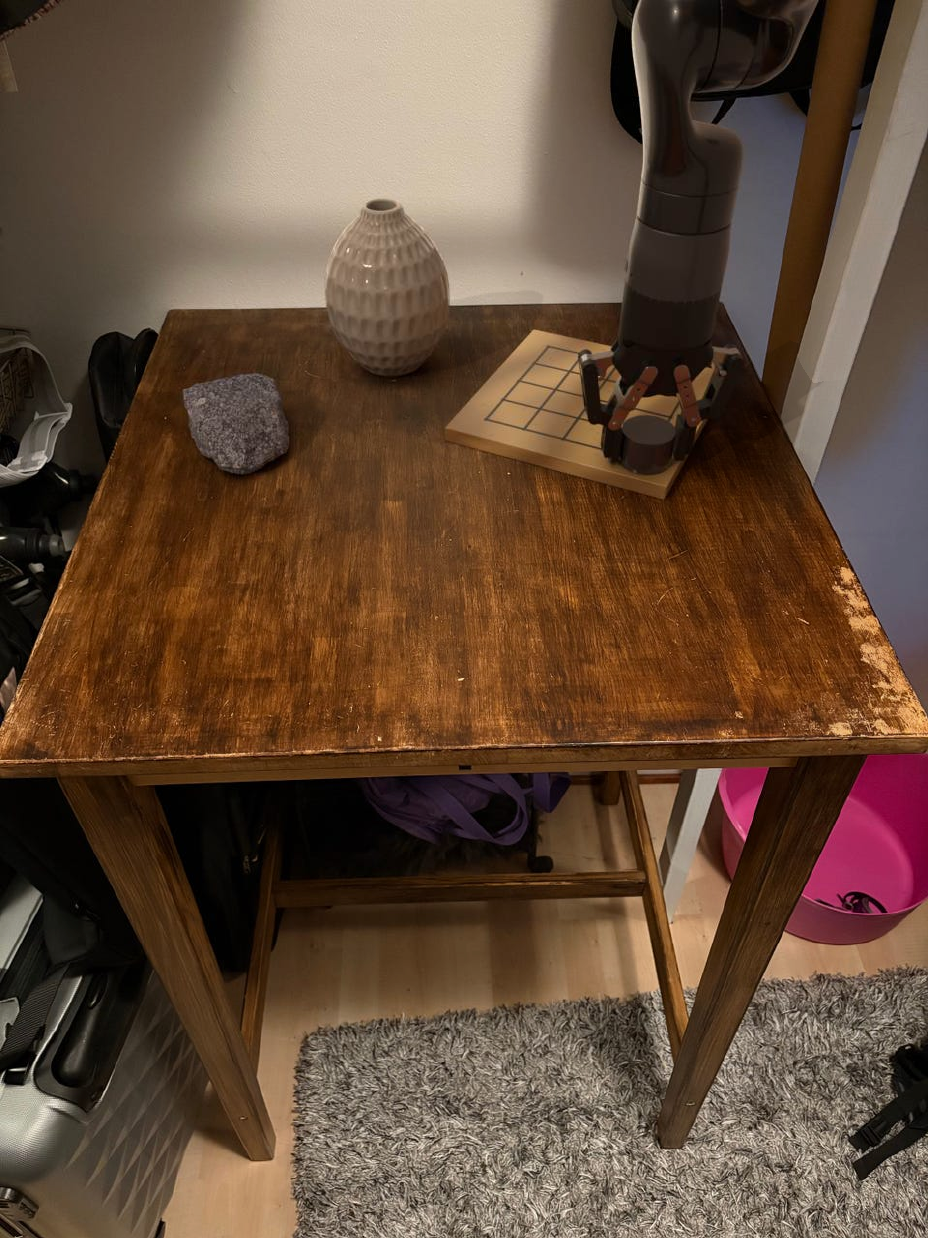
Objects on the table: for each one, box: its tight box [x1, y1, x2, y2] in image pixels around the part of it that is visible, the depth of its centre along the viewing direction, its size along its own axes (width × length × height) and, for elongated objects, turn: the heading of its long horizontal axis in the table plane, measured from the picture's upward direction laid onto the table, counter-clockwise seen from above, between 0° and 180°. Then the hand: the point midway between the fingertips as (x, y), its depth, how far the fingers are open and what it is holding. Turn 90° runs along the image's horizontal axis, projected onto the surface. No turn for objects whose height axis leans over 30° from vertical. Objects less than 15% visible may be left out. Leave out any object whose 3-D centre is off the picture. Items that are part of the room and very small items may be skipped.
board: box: [444, 329, 713, 501], centre depth 91 cm, size 22×22×2 cm
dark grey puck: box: [619, 415, 676, 475], centre depth 82 cm, size 5×5×3 cm
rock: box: [182, 373, 290, 475], centre depth 86 cm, size 12×5×10 cm
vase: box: [324, 197, 451, 378], centre depth 93 cm, size 13×13×17 cm
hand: (644, 456), depth 82 cm, fingers open, 5 cm apart
